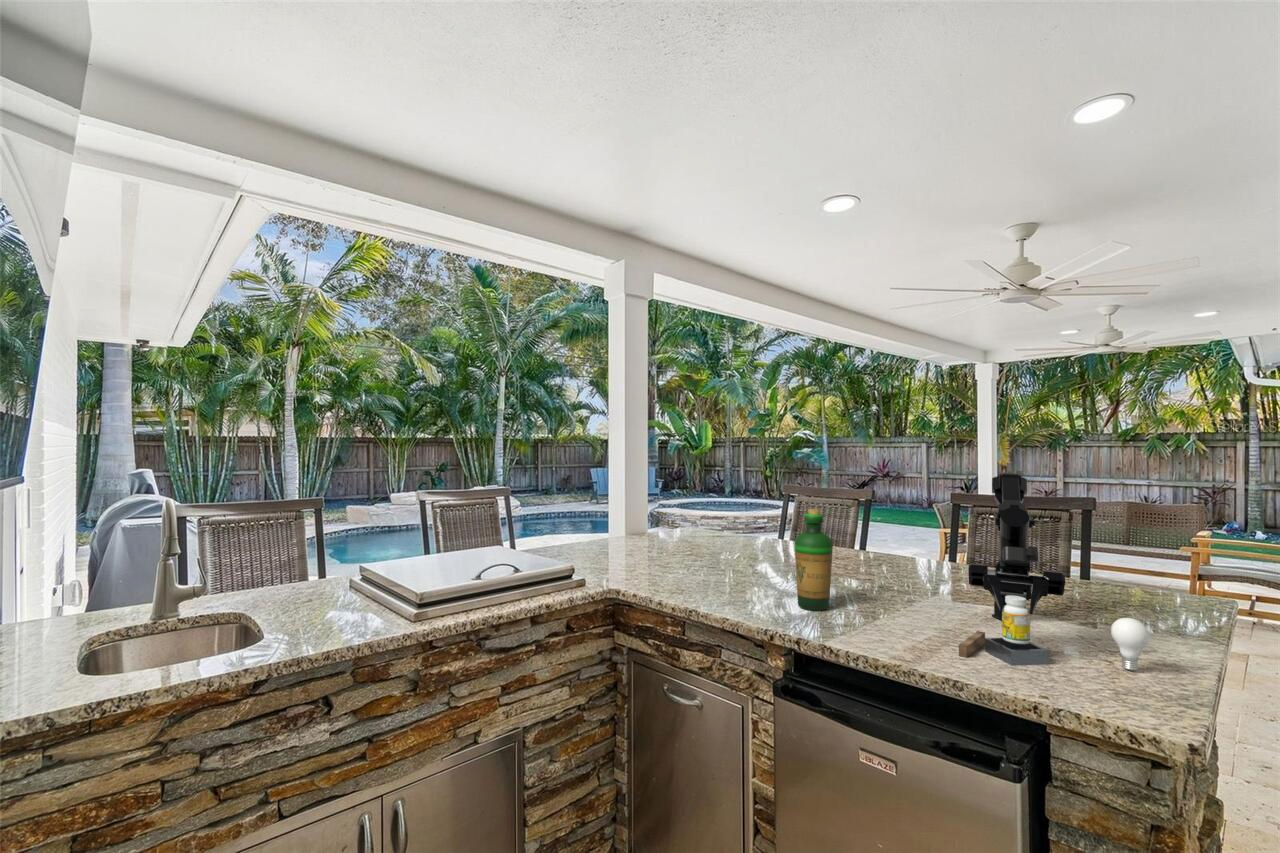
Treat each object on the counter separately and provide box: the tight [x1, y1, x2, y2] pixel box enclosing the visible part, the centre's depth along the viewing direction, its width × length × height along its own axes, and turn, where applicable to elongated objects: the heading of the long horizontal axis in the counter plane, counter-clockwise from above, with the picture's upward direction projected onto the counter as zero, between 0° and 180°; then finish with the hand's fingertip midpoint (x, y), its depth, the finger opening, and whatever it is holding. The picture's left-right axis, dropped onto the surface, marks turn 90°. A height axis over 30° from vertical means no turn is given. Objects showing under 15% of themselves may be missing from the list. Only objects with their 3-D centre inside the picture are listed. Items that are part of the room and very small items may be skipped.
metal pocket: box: [984, 637, 1050, 666], centre depth 136 cm, size 9×9×3 cm
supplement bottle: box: [1001, 595, 1031, 644], centre depth 136 cm, size 5×5×10 cm
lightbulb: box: [1110, 617, 1150, 672], centre depth 129 cm, size 6×6×11 cm
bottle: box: [794, 508, 834, 612], centre depth 175 cm, size 11×11×28 cm
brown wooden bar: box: [958, 630, 986, 659], centre depth 141 cm, size 14×2×2 cm, turn 136°
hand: (1016, 611), depth 135 cm, fingers closed on supplement bottle, 5 cm apart
